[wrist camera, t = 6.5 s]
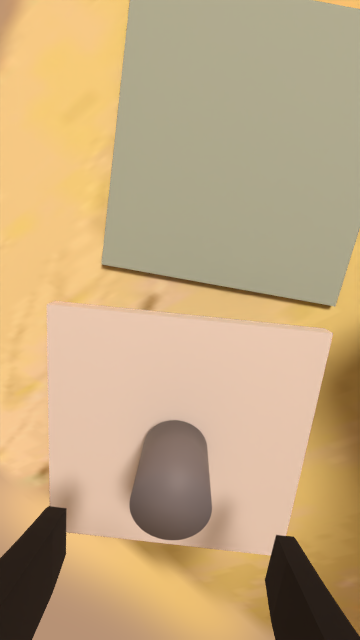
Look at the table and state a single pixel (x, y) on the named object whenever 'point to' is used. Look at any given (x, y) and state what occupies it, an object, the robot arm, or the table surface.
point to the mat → (238, 145)
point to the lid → (179, 424)
